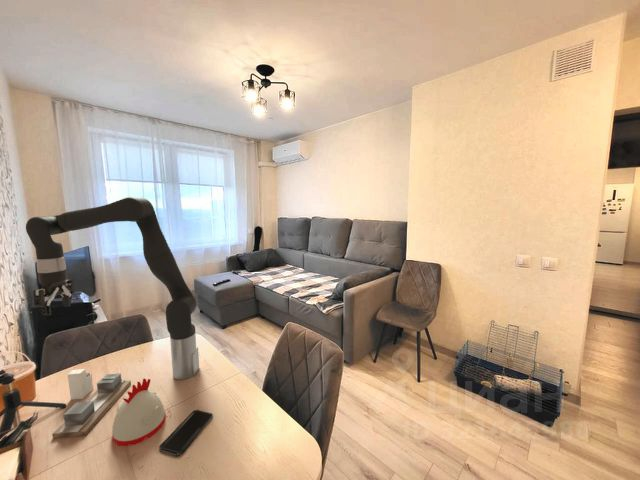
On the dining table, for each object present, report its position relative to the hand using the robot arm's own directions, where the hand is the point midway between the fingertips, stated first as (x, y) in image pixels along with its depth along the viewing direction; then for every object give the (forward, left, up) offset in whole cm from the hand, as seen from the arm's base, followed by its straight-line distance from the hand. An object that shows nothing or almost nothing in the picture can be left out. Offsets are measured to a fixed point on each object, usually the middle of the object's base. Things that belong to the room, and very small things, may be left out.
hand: (57, 310), depth 99 cm
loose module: (-12, +9, -29) cm, 33 cm away
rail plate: (-22, +16, -29) cm, 40 cm away
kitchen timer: (-41, +26, -30) cm, 57 cm away
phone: (-57, +30, -30) cm, 71 cm away
